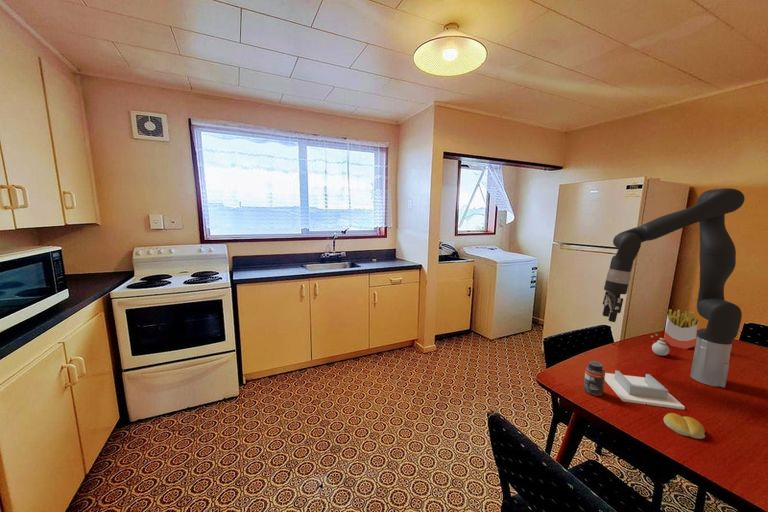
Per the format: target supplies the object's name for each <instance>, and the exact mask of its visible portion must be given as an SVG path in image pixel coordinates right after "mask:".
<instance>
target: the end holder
mask: <svg viewBox="0 0 768 512" xmlns="http://www.w3.org/2000/svg"><path fill="white" fill-rule="evenodd" d="M604 382H606V383H607V385H608V386H609V387H610V388H611V389H612V390H613V391H614V393H615V394H616V395H617V397H619V399H620V400H621V401H622V402H625V403H632V404H638V405H639V404H641V405H646V404H647V406H655V407H662V408H668V409H677V410H684V411H685V408H686V406H685V405H683V404H682V403H681V402H680V401H678V399H676V398H675V397H674V396H673V395H672V393H671V394H670V393H669V389H667V388H666V387H665V386H664V385H663V384H662V383H660V382H659V381H658V380H657V379H656V378H655V377H654V376H652V375H651V374H650V373H645V377H644V376H636V375H635V376H634V375H626V374H623V373H621V371H620V370H616V369H615V370H614V373H609V372H605V380H604Z"/></svg>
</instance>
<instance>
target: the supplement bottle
mask: <svg viewBox="0 0 768 512" xmlns="http://www.w3.org/2000/svg"><path fill="white" fill-rule="evenodd" d="M605 373H606V372H605V370H604V369H603V364H602V363H601V362H598V361H594V360H591V361H589V363H588V365H587V366H586V367H585V371H584V383H583V391H585V392H586V393H587V394H589V395H592V396H596V397H597V396H598V397H601V396H602V395H603V394H604V389H605V388H604V387H605Z"/></svg>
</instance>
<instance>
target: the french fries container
mask: <svg viewBox="0 0 768 512" xmlns="http://www.w3.org/2000/svg"><path fill="white" fill-rule="evenodd" d="M672 312H673V310H672V309H668V313H667V314H666V315H667V316H666V323H665V330H664V333H663V334H664V335H663V338H664V339H665V340H664V342H666V344H668V345H669V346H671V347H675V348H679V349H683V350H688V349H690V348H693V347H695V345H696V339H697V333H698V327H699V319H698V317H697V316H694V314H695V313H694V311H689V313H688V311H687V310H686V311H684V312H685V313H681V309H677V311H675V310H674V312H673V313H672Z"/></svg>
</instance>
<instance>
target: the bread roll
mask: <svg viewBox="0 0 768 512" xmlns="http://www.w3.org/2000/svg"><path fill="white" fill-rule="evenodd" d="M663 422H664V424H665V425H666V427H668V428H669V429H671V430H672V431H673V432H675V433H677V434H678V435H679V434H680V435H681V436H685V437H690V438H693V439H697V440H699V439H700V440H701V439H702V440H703V439H705V438H706V435H705V432H706V431H705V428H704V426H703V424H702V423H701V422H700V421H698V420H697V419H695V418H693V417H690V416H687V415H686V416H681V415H680V414H677V413H675V412H670V413H667V414H665V415H664V417H663Z"/></svg>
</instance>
